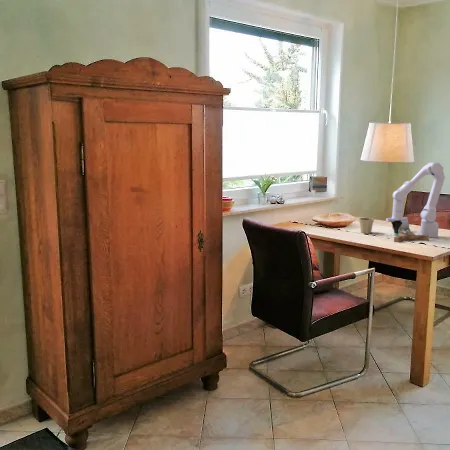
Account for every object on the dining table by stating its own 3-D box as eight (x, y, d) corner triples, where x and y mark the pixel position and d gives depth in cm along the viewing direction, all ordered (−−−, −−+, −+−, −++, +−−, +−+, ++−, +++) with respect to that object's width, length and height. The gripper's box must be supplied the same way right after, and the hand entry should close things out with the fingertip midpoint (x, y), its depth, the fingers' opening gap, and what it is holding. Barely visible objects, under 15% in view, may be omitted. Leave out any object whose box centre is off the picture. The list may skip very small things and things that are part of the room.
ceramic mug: (390, 231, 310) (391, 219, 308) (398, 229, 314) (399, 217, 313) (405, 234, 301) (406, 222, 300) (413, 232, 306) (414, 220, 304)
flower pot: (354, 232, 305) (355, 218, 304) (363, 230, 311) (364, 217, 310) (367, 234, 298) (368, 220, 297) (376, 232, 304) (377, 219, 303)
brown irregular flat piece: (422, 237, 291) (423, 232, 291) (432, 242, 279) (432, 236, 278) (386, 237, 291) (387, 232, 290) (395, 242, 278) (395, 237, 277)
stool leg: (408, 238, 286) (409, 232, 285) (405, 238, 286) (405, 232, 285) (397, 234, 298) (398, 228, 298) (394, 234, 298) (394, 228, 297)
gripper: (402, 209, 298) (401, 231, 301) (383, 210, 293) (381, 232, 296) (411, 211, 292) (409, 233, 294) (391, 212, 287) (389, 234, 289)
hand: (395, 233), depth 295 cm, fingers closed
